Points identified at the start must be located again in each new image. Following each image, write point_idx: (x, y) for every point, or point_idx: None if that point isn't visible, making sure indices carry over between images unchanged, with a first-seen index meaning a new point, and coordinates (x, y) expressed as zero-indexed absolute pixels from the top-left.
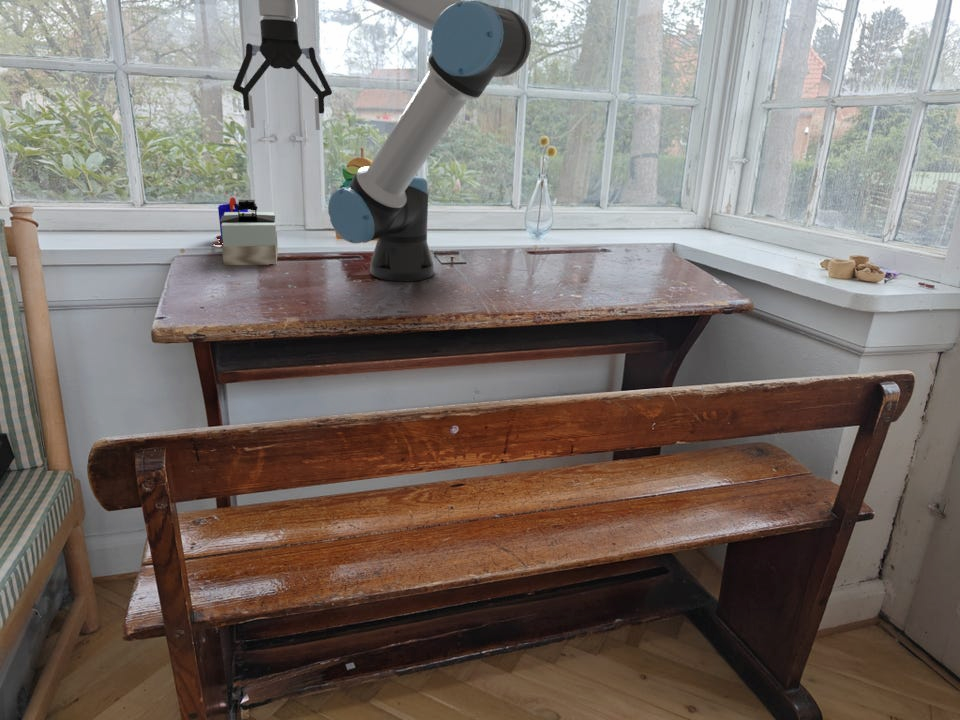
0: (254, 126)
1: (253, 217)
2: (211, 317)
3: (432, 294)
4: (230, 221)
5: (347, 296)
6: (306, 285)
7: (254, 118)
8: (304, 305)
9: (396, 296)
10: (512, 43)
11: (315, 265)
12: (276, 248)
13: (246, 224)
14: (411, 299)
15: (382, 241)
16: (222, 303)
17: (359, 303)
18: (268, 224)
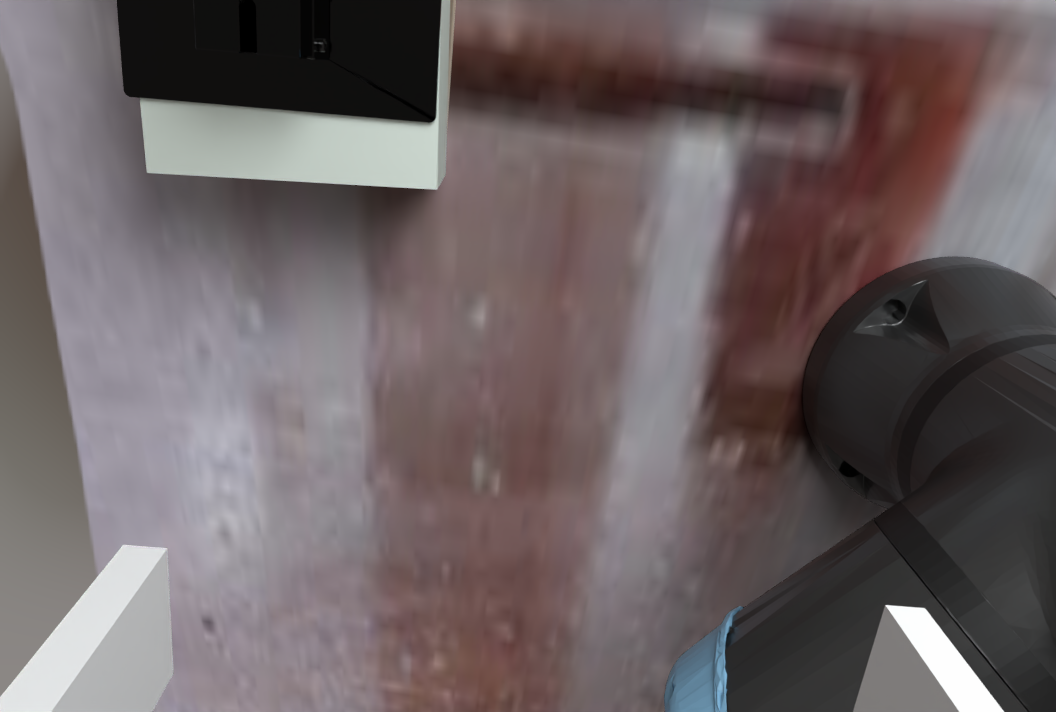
0: (167, 682)
1: (311, 63)
2: (245, 697)
3: None
4: (184, 99)
5: (650, 598)
6: (536, 472)
7: (124, 645)
8: (506, 651)
9: None
10: None
11: (610, 215)
12: (450, 39)
13: (279, 160)
14: None
15: (899, 488)
16: (263, 598)
17: (671, 660)
18: (399, 173)
